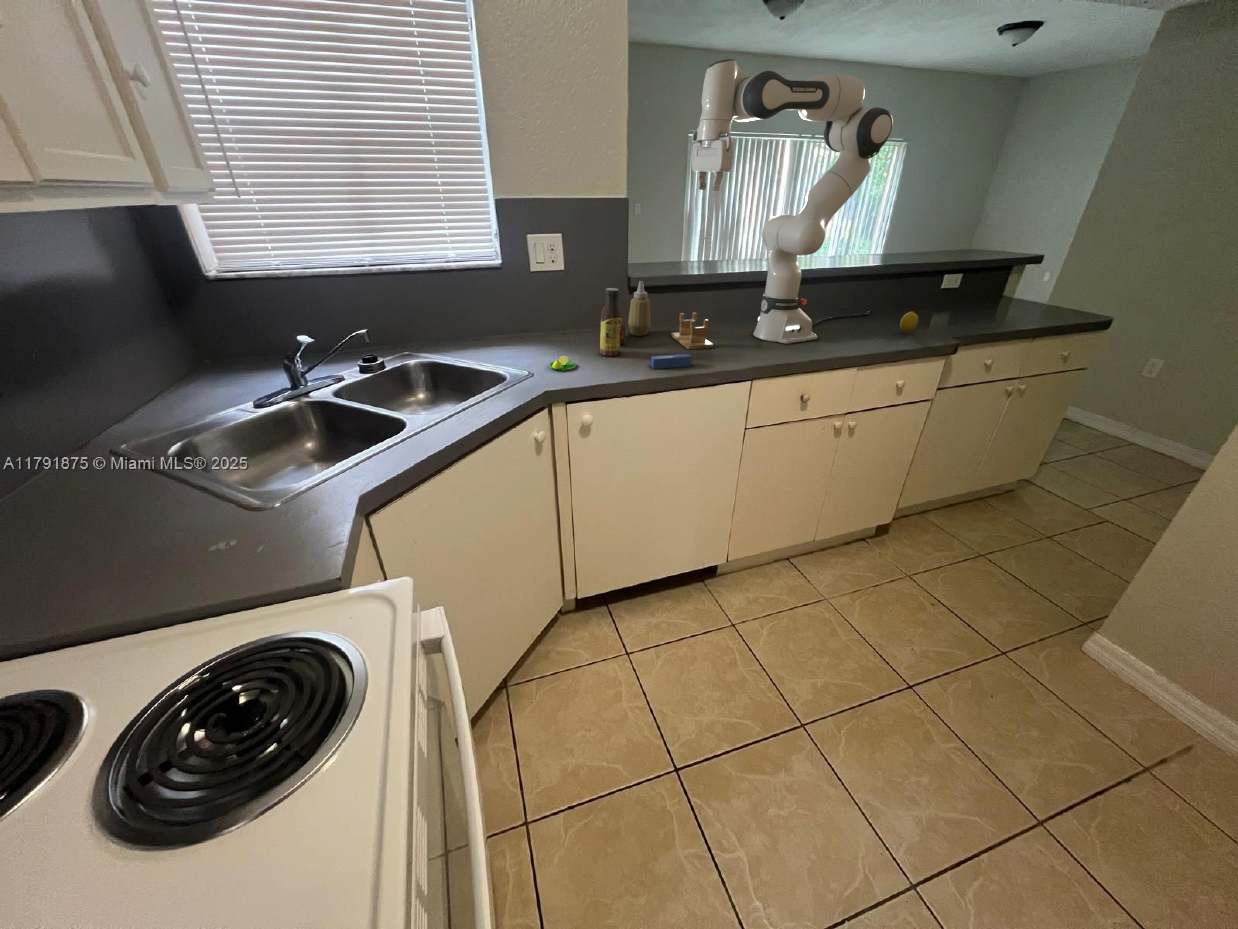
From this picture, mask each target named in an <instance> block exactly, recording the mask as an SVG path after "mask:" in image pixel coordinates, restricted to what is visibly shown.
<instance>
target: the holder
mask: <svg viewBox="0 0 1238 929" xmlns="http://www.w3.org/2000/svg"><path fill="white" fill-rule="evenodd" d="M697 319H698V313H697V312H692V315H691V319H685V313H683V312H680V313H679V318H678V320H679V331H677V332H670V333H671V335H670V336H671V337H672V338H673V339H674V340H675V341H677V342H678V343H680V344H681V346H683V347H684V348H685V349H687V350H702V349H714V344H715V343H713V342H711V341H709V340H708V339H707V338H706V337H707V331H708V329H709V322H710V320H709V319H703V325H702V326H696V321H697Z"/></svg>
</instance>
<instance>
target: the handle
mask: <svg viewBox="0 0 1238 929" xmlns="http://www.w3.org/2000/svg"><path fill="white" fill-rule="evenodd" d="M692 357H693V356H692V355H691V354H689V353H682V354H681V353H680V354H670V355H669V354H667V355H654V356H651V357H650V367H651V368H652V369H653V370H657V369H658V370H659V369H670V368H671V369H672V368H684V367H691V366H692V359H693V358H692Z"/></svg>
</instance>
